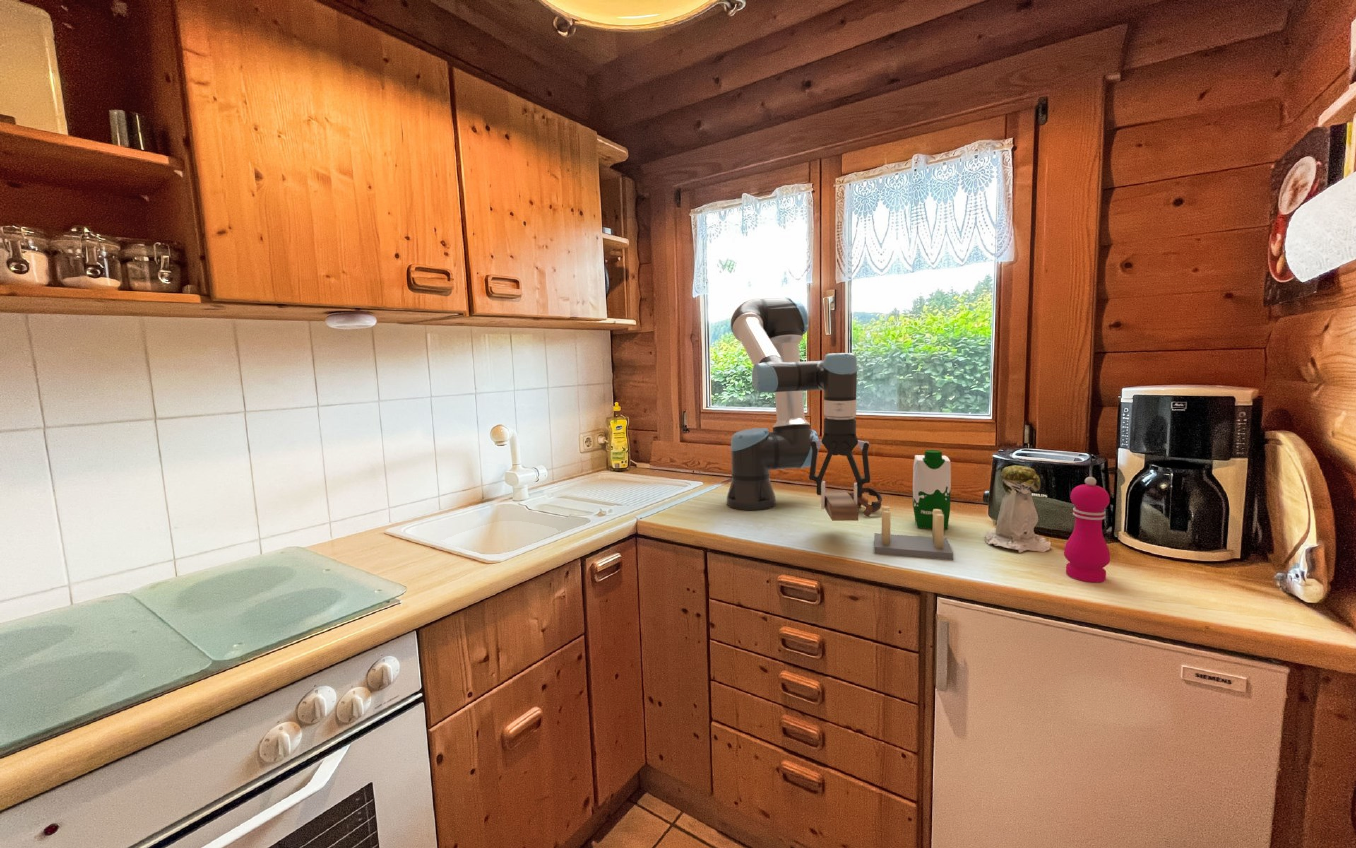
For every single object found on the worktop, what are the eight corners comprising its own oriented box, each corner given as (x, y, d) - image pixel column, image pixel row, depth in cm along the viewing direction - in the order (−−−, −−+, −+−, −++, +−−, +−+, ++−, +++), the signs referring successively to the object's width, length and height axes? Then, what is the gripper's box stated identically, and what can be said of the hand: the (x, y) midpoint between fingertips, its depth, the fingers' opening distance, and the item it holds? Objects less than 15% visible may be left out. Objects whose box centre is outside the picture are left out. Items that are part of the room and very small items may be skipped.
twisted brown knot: (868, 507, 159) (880, 486, 155) (876, 529, 151) (889, 508, 147) (830, 499, 158) (841, 478, 154) (836, 521, 150) (848, 500, 146)
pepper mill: (1053, 570, 108) (1058, 474, 105) (1086, 568, 108) (1092, 472, 106) (1083, 585, 101) (1089, 482, 98) (1119, 582, 101) (1125, 480, 99)
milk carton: (914, 529, 136) (915, 452, 134) (911, 518, 145) (912, 446, 142) (952, 531, 133) (954, 453, 131) (946, 520, 142) (948, 447, 140)
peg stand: (874, 553, 121) (874, 515, 120) (874, 539, 130) (874, 503, 129) (953, 559, 115) (953, 519, 114) (946, 544, 124) (947, 507, 123)
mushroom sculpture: (972, 537, 129) (975, 462, 127) (1023, 534, 130) (1026, 460, 128) (1006, 554, 117) (1009, 472, 115) (1061, 551, 118) (1065, 469, 116)
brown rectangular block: (858, 520, 124) (858, 506, 124) (832, 520, 125) (832, 506, 124) (845, 503, 138) (845, 490, 138) (821, 503, 139) (821, 490, 138)
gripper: (796, 418, 128) (796, 510, 131) (884, 419, 121) (882, 516, 125) (800, 414, 135) (800, 501, 138) (883, 415, 128) (881, 507, 132)
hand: (839, 508), depth 131 cm, fingers closed on brown rectangular block, 7 cm apart
